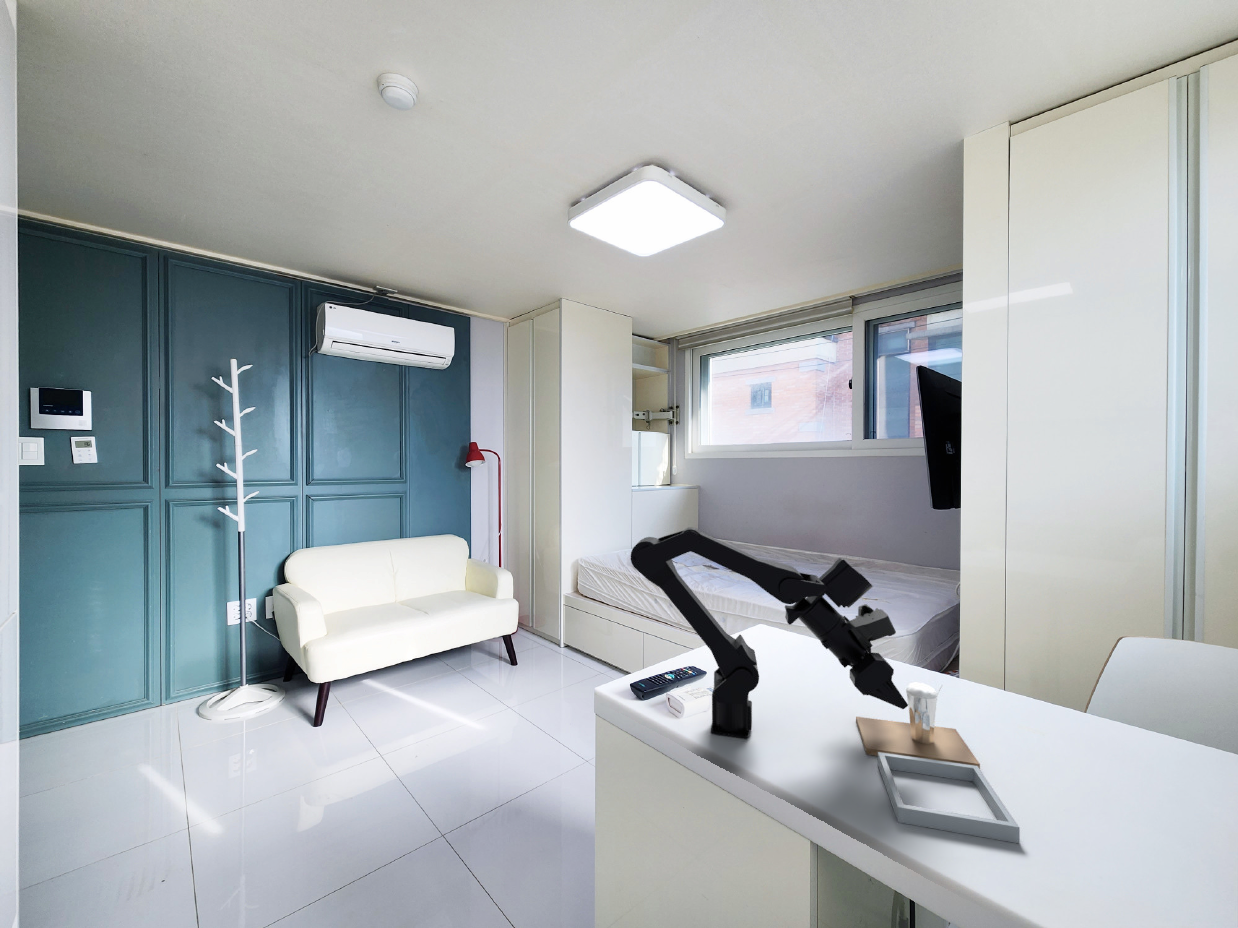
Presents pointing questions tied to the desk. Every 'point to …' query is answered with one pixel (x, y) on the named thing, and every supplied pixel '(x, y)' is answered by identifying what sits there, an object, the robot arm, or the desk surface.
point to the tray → (946, 820)
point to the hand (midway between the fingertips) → (896, 694)
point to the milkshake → (922, 711)
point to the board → (913, 742)
